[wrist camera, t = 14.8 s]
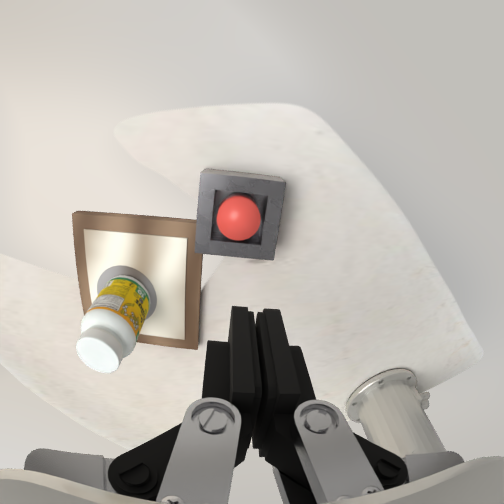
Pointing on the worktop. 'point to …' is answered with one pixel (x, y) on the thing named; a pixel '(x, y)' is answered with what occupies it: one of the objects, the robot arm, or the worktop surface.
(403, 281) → the worktop surface
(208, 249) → the button housing
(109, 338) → the supplement bottle
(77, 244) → the brown bordered square board
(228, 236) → the button
